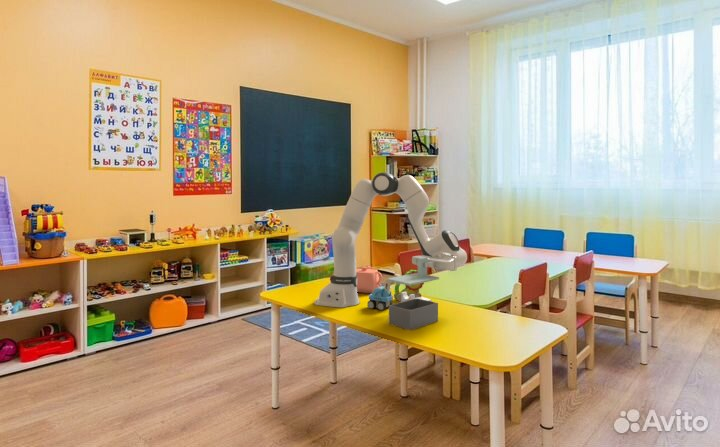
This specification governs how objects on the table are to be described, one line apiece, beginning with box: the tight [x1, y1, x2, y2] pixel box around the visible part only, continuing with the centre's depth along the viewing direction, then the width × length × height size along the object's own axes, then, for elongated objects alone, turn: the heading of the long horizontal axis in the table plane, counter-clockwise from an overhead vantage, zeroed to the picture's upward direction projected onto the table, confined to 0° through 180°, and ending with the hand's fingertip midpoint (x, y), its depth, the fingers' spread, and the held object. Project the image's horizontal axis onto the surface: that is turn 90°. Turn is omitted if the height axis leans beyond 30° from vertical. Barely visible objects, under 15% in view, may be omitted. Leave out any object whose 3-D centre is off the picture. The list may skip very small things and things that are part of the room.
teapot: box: [356, 265, 383, 294], centre depth 255 cm, size 20×19×14 cm
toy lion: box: [393, 269, 425, 302], centre depth 234 cm, size 16×5×15 cm, turn 108°
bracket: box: [400, 291, 433, 302], centre depth 219 cm, size 13×7×8 cm, turn 122°
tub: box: [388, 298, 439, 331], centre depth 194 cm, size 12×18×8 cm, turn 132°
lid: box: [386, 257, 440, 286], centre depth 193 cm, size 13×19×9 cm
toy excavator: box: [367, 273, 402, 312], centre depth 216 cm, size 9×17×17 cm, turn 58°
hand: (421, 264), depth 196 cm, fingers closed on lid
